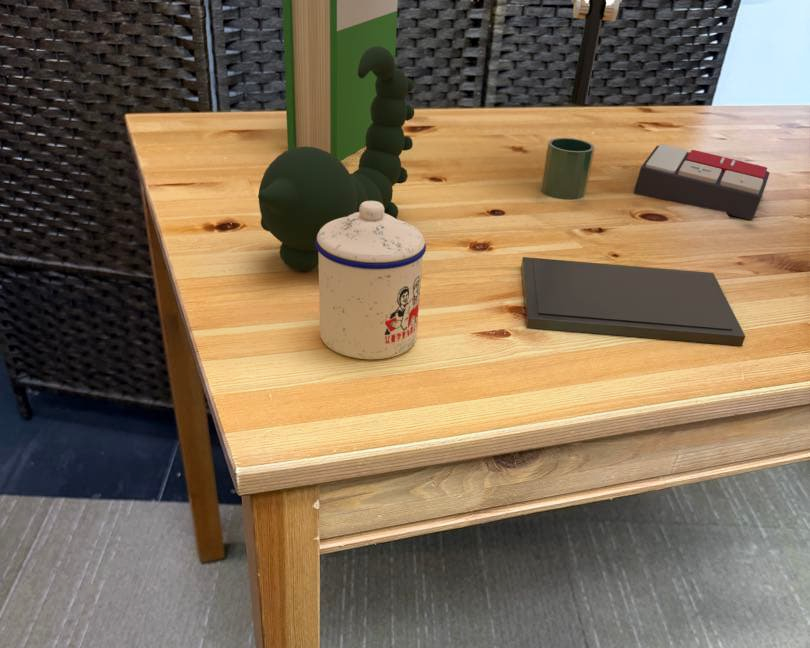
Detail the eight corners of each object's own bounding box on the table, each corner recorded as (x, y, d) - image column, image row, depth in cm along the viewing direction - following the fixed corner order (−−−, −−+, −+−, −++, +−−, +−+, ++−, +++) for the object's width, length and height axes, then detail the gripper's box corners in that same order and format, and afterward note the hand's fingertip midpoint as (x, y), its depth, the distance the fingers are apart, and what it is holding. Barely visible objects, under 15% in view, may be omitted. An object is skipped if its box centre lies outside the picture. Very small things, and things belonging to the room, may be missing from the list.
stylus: (585, 101, 96) (614, -54, 86) (586, 106, 95) (616, -52, 85) (569, 100, 96) (597, -56, 86) (570, 104, 95) (598, -54, 85)
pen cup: (582, 189, 105) (592, 139, 101) (586, 204, 101) (596, 153, 97) (539, 186, 105) (547, 136, 101) (541, 201, 101) (549, 149, 97)
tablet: (710, 281, 86) (713, 271, 85) (742, 346, 75) (746, 335, 74) (521, 265, 86) (522, 255, 85) (526, 327, 76) (528, 316, 75)
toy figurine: (354, 221, 97) (220, 275, 79) (364, 36, 86) (211, 49, 67) (423, 239, 94) (301, 300, 76) (444, 50, 83) (306, 68, 64)
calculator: (764, 190, 97) (642, 160, 101) (750, 225, 100) (632, 195, 104) (772, 165, 105) (658, 138, 108) (759, 199, 108) (649, 171, 111)
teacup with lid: (403, 371, 68) (411, 233, 61) (301, 351, 70) (297, 214, 62) (438, 310, 77) (449, 183, 69) (347, 294, 79) (348, 167, 71)
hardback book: (336, 162, 108) (336, -62, 92) (287, 152, 110) (279, -69, 94) (392, 130, 120) (400, -73, 104) (347, 121, 122) (349, -79, 106)
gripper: (514, -138, 87) (503, -14, 86) (707, -122, 86) (697, 2, 86) (507, -89, 93) (497, 27, 92) (686, -74, 93) (678, 42, 92)
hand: (595, 15), depth 89 cm, fingers closed on stylus, 2 cm apart
